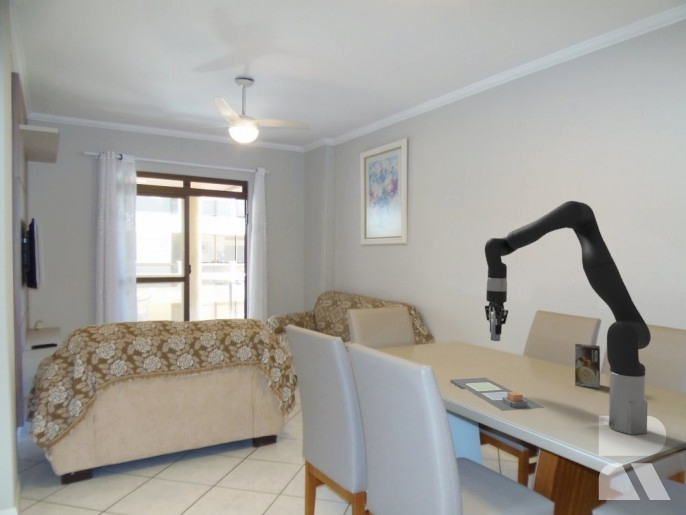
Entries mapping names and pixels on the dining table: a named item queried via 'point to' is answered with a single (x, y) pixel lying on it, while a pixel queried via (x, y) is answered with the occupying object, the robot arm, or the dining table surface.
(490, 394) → the picture board
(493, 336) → the marker
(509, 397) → the button
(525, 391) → the dining table surface
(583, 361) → the coffee box
